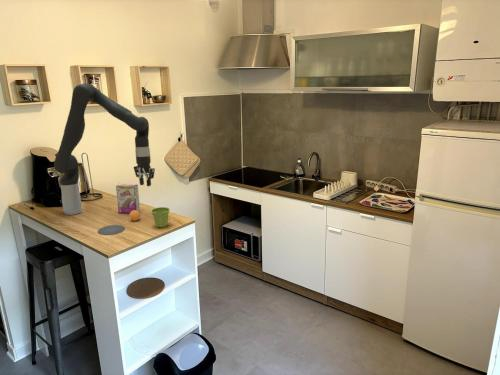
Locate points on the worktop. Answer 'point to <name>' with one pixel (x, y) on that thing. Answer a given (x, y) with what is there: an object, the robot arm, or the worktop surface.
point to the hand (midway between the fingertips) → (145, 185)
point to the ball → (134, 215)
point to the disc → (111, 230)
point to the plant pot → (160, 216)
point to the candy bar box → (127, 198)
